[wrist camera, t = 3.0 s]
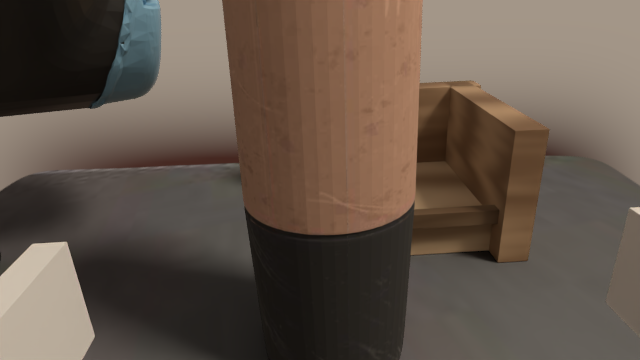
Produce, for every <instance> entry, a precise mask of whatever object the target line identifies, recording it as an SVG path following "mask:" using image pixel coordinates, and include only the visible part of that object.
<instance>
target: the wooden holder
mask: <svg viewBox="0 0 640 360" xmlns="http://www.w3.org/2000/svg"><path fill="white" fill-rule="evenodd" d="M548 135H549V129H548V128H546V127H545V126H543V125H541V124H539V123H538V122H536V121H535V120H533V119H531V118H529V117H528V116H526V115H524V114H523V113H521V112H519V111H517V110H516V109H514V108H512V107H511V106H509V105H507V104H505V103H504V102H502V101H500V100H498V99H497V98H495V97H493V96H492V95H490V94H488V93H486V92H484V91H483V90H481V85H479V84H477V83H475V82H474V81H454V82H435V83H419V110H418V137H417V164H416V191H415V199H414V200H415V207H414V219H413V231H412V243H411V255H421V254H437V253H453V252H469V251H485V250H489V251H490V253H491V254H492V255H493V257H494V258H495V259H496V261H497V262H513V261H528V256H529V250H530V244H531V238H532V232H533V226H534V219H535V213H536V207H537V201H538V195H539V189H540V183H541V177H542V171H543V165H544V159H545V153H546V147H547V141H548Z"/></svg>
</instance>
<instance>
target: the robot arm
mask: <svg viewBox="0 0 640 360" xmlns="http://www.w3.org/2000/svg"><path fill="white" fill-rule="evenodd" d="M160 57H161V15H160V6H159V1H158V0H0V117H3V116H13V115H22V114H33V113H42V112H52V111H62V110H72V109H81V108H90V109H92V108H98V107H100V106H102V105H103V104H107V103H112V102H118V101H124V100H129V99H135V98H138V97H141V96H143V95H145V94H146V93H148V92H149V91H150V89H151V88H152V87H153V85H154V84H155V82H156V80H157V76H158V72H159V66H160ZM0 261H1V253H0ZM606 303H607V304H608V305H609V307H610V308H611V309H612V310H613V311H614V312H615V313H616V314H617V315H618V316H619V317H620V318H621V319H622V320H623V321H624V322H625V323H626V324H627V325H628V326H629V327H630V328H631V329H632V330H633V331H634V332H635V333H636V334H637V335H638V336H639V337H640V207H636V208H629V212H628V216H627V219H626V223H625V227H624V231H623V235H622V239H621V243H620V247H619V251H618V255H617V259H616V263H615V267H614V270H613V274H612V278H611V282H610V286H609V290H608V294H607V298H606ZM94 337H95V335H94V331H93V328H92V324H91V321H90V318H89V314H88V311H87V308H86V304H85V301H84V298H83V294H82V291H81V288H80V284H79V281H78V278H77V274H76V271H75V268H74V264H73V261H72V257H71V254H70V251H69V247H68V244H67V242H55V243H38V244H32V245H31V246H30V247H29V248H28V249H27V250H26V251H25V252H24V253H23V254H22V255H21V256H20V257H19V258H18V259H17V260H16V261H15V262H14V263H13V264H12V265H11V266H10V267H9V268H8V269H7V270H6V271H5V272H4V273H3V274H2V275H1V276H0V360H82V359H83V357H84V355H85V354H86V352H87V350H88V348H89V346H90V345H91V343H92V341H93V339H94Z"/></svg>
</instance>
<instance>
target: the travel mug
mask: <svg viewBox="0 0 640 360" xmlns="http://www.w3.org/2000/svg"><path fill="white" fill-rule="evenodd" d="M222 2H223V11H224V21H225V31H226V40H227V49H228V59H229V69H230V77H231V88H232V97H233V105H234V116H235V125H236V134H237V144H238V153H239V163H240V173H241V182H242V191H243V200H244V205H245V214H246V221H247V227H248V234H249V241H250V247H251V254H252V260H253V267H254V274H255V280H256V287H257V293H258V300H259V306H260V313H261V320H262V326H263V332H264V338H265V344H266V349H267V354H268V357H269V360H399V358H400V355H401V351H402V345H403V337H404V327H405V315H406V303H407V291H408V279H409V267H410V255H411V243H412V231H413V219H414V207H415V200H414V199H415V191H416V164H417V137H418V110H419V82H420V56H421V28H422V0H222Z"/></svg>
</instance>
